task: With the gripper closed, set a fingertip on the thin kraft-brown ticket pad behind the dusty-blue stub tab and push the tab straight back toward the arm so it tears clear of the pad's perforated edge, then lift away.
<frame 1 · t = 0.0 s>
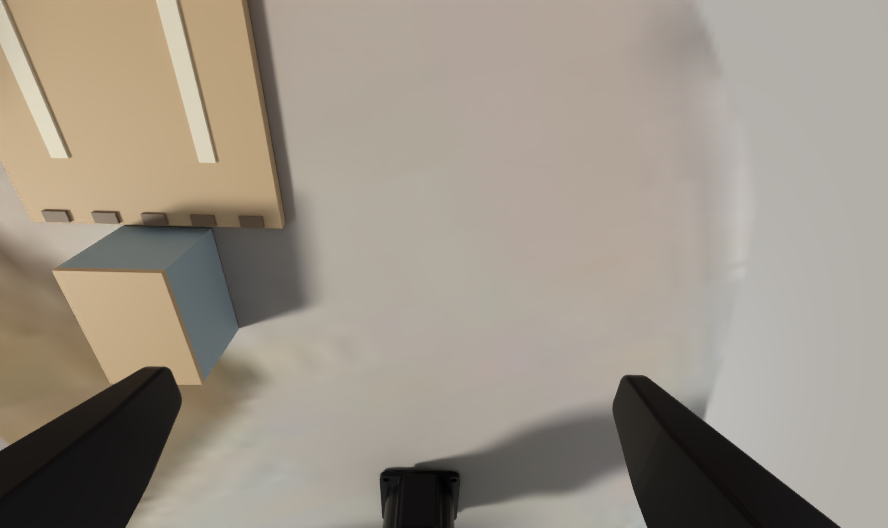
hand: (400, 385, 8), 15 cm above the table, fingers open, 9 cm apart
ticket pad: (125, 103, 19), on the table
stub: (161, 304, 22), point 2 cm above the table, slide at 0.0 cm
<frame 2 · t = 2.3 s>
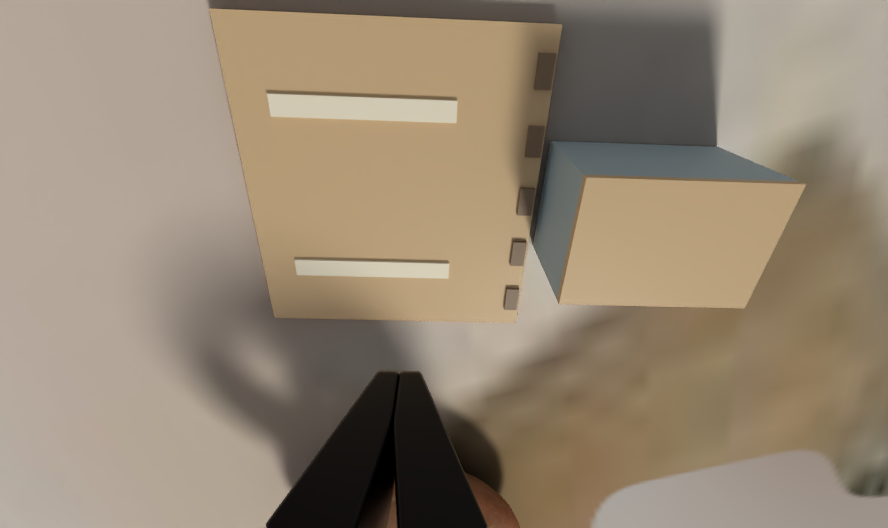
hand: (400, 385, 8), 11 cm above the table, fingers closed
ticket pad: (394, 192, 18), on the table
stub: (642, 220, 16), point 2 cm above the table, slide at 0.0 cm
ceramic jug: (415, 503, 30), on the table
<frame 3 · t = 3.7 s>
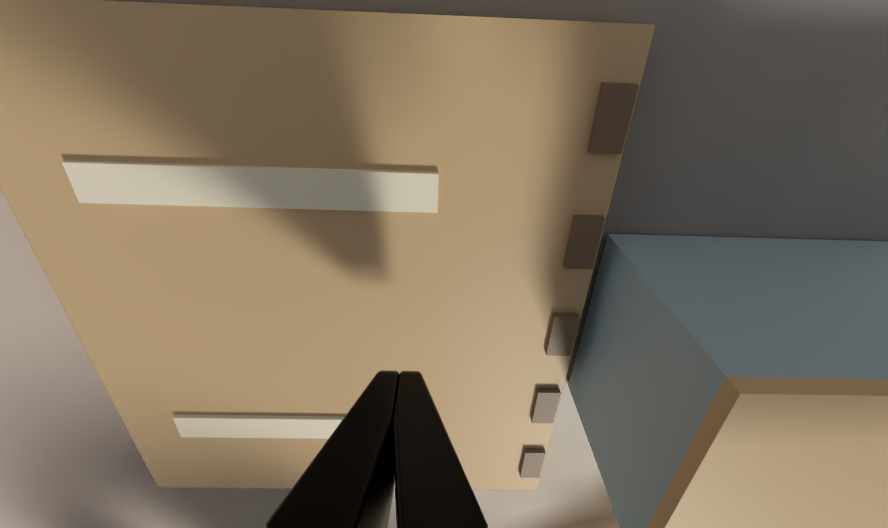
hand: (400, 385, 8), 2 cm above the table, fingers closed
ticket pad: (334, 313, 10), on the table
stub: (785, 390, 9), point 2 cm above the table, slide at 0.0 cm
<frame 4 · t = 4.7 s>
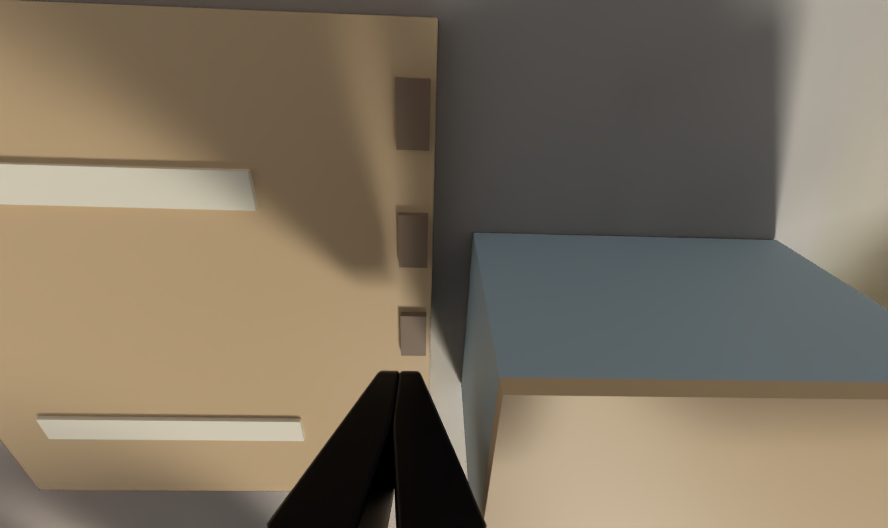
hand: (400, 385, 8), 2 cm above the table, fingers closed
ticket pad: (189, 313, 10), on the table
stub: (642, 390, 8), point 2 cm above the table, slide at 0.5 cm, touching gripper
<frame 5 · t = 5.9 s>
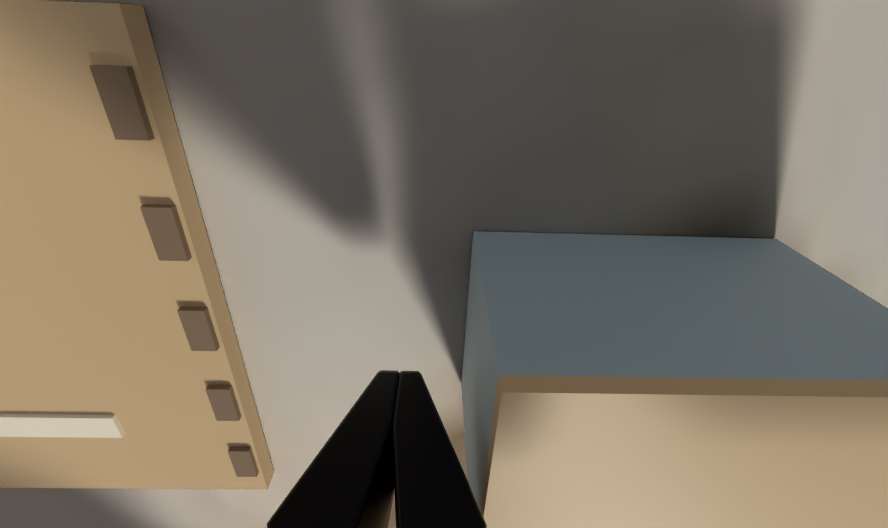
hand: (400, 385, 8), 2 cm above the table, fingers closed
stub: (642, 389, 8), point 2 cm above the table, slide at 5.6 cm, touching gripper
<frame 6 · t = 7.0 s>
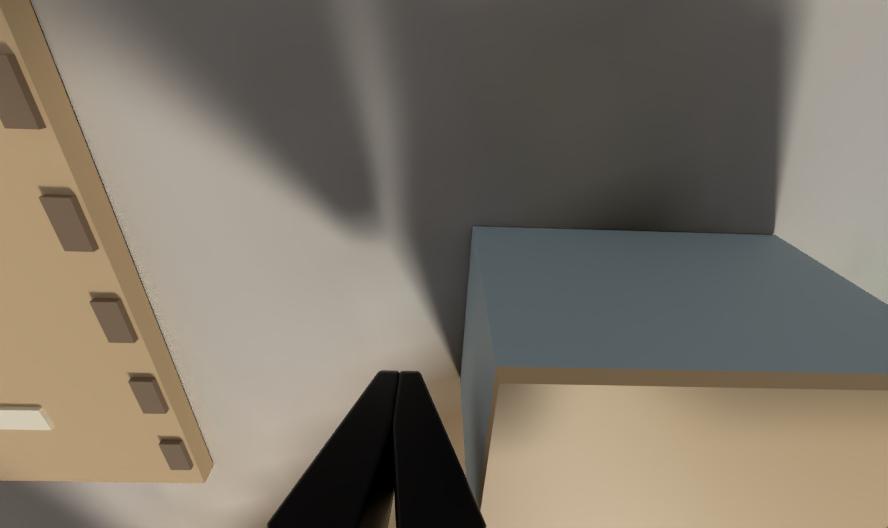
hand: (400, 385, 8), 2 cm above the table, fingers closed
stub: (640, 384, 9), point 2 cm above the table, slide at 7.5 cm, touching gripper
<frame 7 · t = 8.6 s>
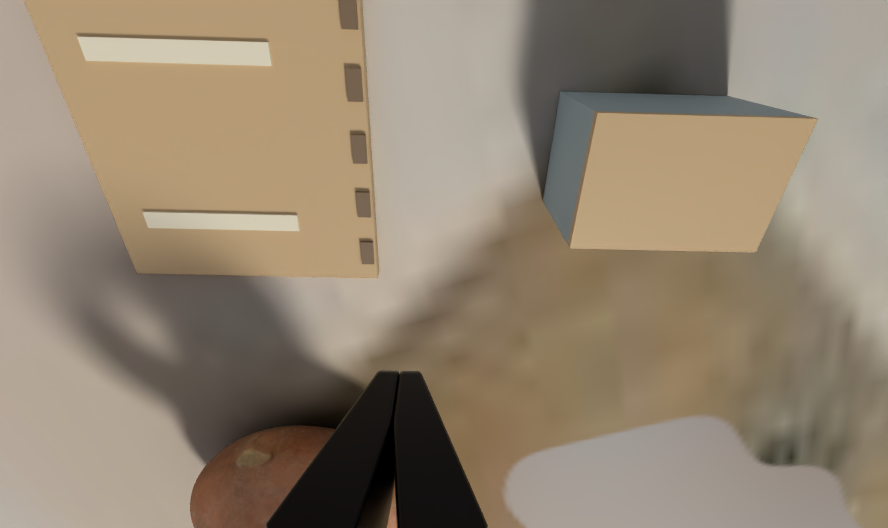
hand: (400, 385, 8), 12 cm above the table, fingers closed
ticket pad: (232, 141, 18), on the table
stub: (653, 168, 16), point 2 cm above the table, slide at 7.5 cm
ceramic jug: (324, 471, 30), on the table
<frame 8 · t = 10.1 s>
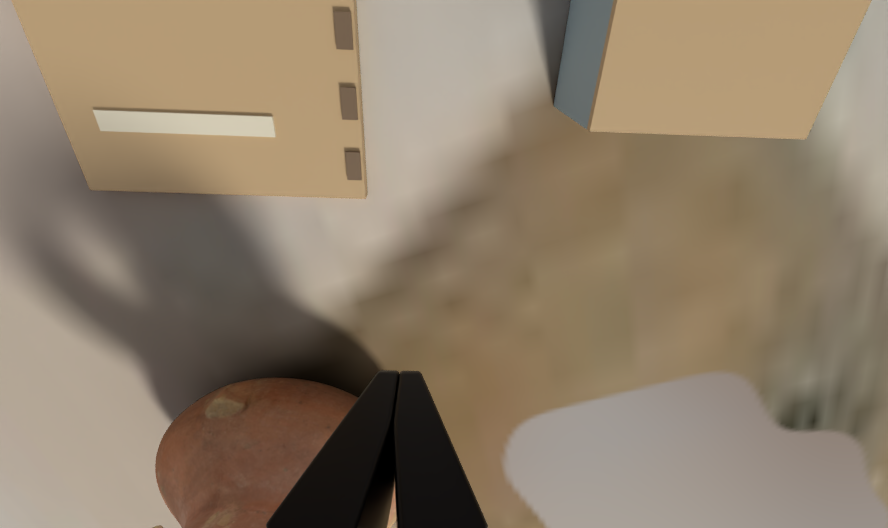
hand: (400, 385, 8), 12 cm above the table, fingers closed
ticket pad: (197, 24, 15), on the table
stub: (685, 46, 14), point 2 cm above the table, slide at 7.5 cm
ceramic jug: (308, 436, 28), on the table
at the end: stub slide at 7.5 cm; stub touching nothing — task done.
